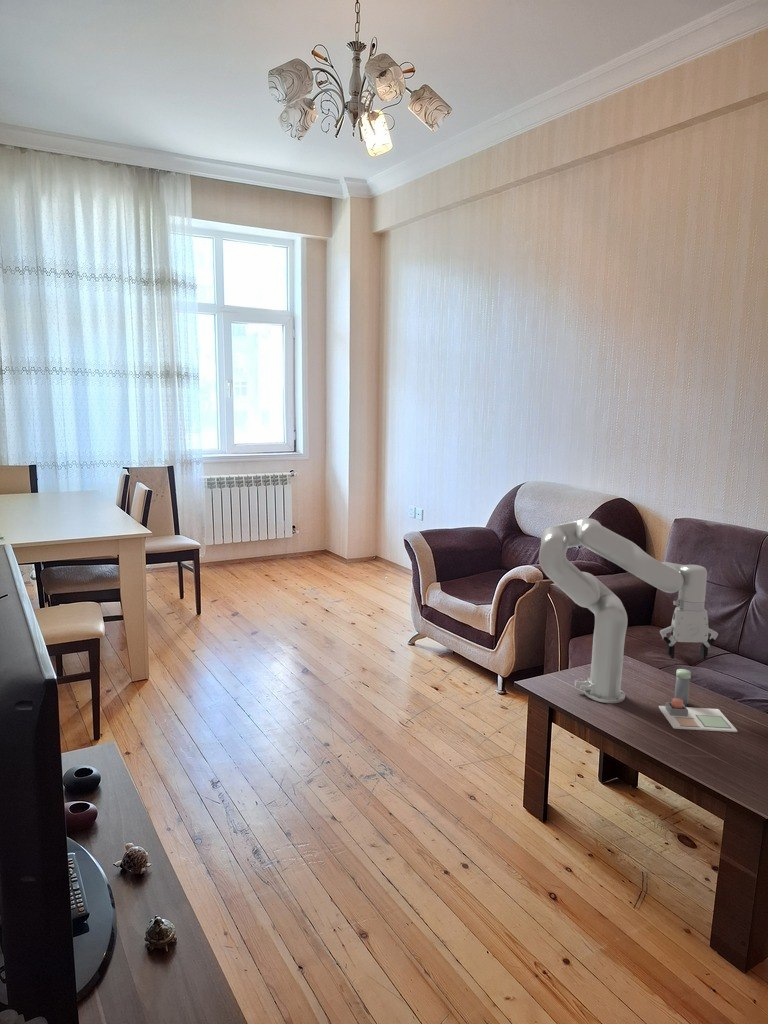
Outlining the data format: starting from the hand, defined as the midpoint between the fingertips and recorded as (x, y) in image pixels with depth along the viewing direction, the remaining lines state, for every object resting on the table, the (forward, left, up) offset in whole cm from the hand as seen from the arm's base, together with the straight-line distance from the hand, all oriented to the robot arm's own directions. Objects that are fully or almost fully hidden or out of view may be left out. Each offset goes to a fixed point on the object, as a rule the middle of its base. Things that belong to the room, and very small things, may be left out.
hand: (686, 657), depth 214 cm
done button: (-5, -8, -13) cm, 16 cm away
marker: (-1, 0, -15) cm, 15 cm away
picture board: (+1, -11, -15) cm, 19 cm away
